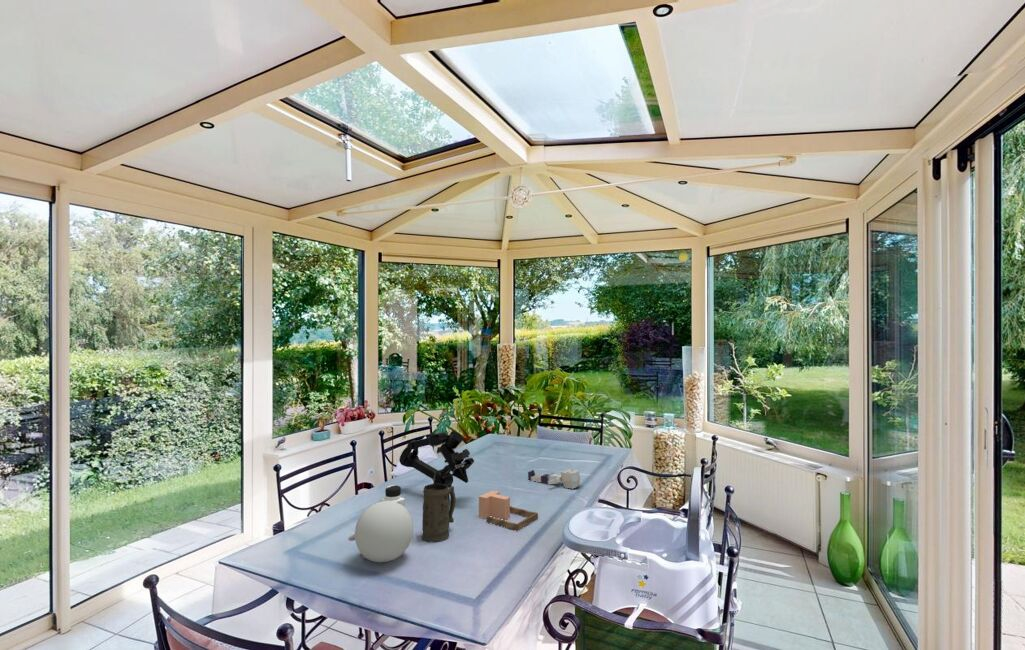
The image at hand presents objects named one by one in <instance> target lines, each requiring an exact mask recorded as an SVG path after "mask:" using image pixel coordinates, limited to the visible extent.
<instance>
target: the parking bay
mask: <svg viewBox="0 0 1025 650" xmlns="http://www.w3.org/2000/svg"><path fill="white" fill-rule="evenodd" d="M510 512H511V513H510V514H513V513H514V515H517V514H518V515H517V516H521V515H522V516H521V517H525V516H526V517H525V519H523V520H521V521H519V522H518V523H515V522H512V521H509V520H506V521H505V520H501V519H498V518H494V517H490V516H487V517H486V519H485V520H486V522H488V523H487V524H490V523H492V524H491V525H493V524H495V525H494V526H497V525H499V526H498V527H501V526H502V527H501V528H504V527H505V528H504V529H508V528H509V530H511V529H512V531H515V530H516V531H515V532H518V530H519V531H521V530H522V529H524V528H526V527H527V526H529V525H530V524H531V523H532V524H533V522H535V521H537V520H538V519H539V513H538V512H535V511H531V510H527V509H524V508H518V507H514V506H511V505H510ZM523 527H524V528H523ZM520 529H521V530H520Z"/></svg>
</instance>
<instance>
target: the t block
mask: <svg viewBox="0 0 1025 650" xmlns="http://www.w3.org/2000/svg"><path fill="white" fill-rule="evenodd" d="M510 506H511V497H510V496H505V495H502V494H500V491H497V490H490V491H488V492H485V493H484V494H481V495H479V496H478V518H480V517H482V518H481V519H484V518H485V519H484V520H486V517H487V516H492V517H495V518H499V519H503V520H506V521H508V520H509V519H510V518H511V513H510ZM508 518H509V519H508Z"/></svg>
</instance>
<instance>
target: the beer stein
mask: <svg viewBox="0 0 1025 650" xmlns="http://www.w3.org/2000/svg"><path fill="white" fill-rule="evenodd" d="M422 494H423V496H422V497H423V502H422V524H421V525H422V528H421V529H422V534H421V538H422V539H423V540H424V541H425V540H426V542H429V541H439V542H443V541H445V540H447V539H448V538H449V537H450V531H449V530H450V523H451V524H452V523H454V520H455V519H454V517H453V514H454V511H455V507H456V502H457V501H456V498H457V497H456V493H455V486H454V485H451V486H450V487H449V488H448V486H447V485H445V484H433V483H432V484H431V483H430V484H426V485H425V486H424V487H423V490H422ZM448 494H449V497H450V500H449V501H448ZM449 502H450V503H449ZM442 540H443V541H442Z"/></svg>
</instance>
